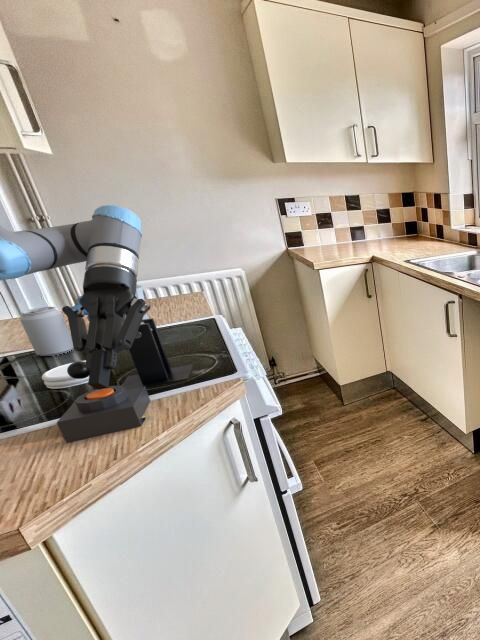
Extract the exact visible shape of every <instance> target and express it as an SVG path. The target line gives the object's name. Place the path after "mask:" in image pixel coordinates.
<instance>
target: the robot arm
mask: <svg viewBox="0 0 480 640" xmlns="http://www.w3.org/2000/svg"><path fill="white" fill-rule="evenodd" d="M142 237H143V233H142V221H141V218H140V217H139V216H138V215H137V214H136V213H135V212H134V211H132V210H130V209H128V208H127V207H123V206H120V205H114V204H113V205H112V204H105V205H101V206H98V207H97V208H96V209H94V210H93V214H92V215H91V219H90V220H85V221H80V222H77V223H69V224H62V225H56V226H50V227H49V226H48V227H42V228H41V227H40V228H33V229H27V230H18V231H17V230H16V231H12V230H9V229H6V228H4V227H3V226H1V225H0V281H6V280H14V279H19V278H21V277H24V276H27V275H31V274H35V273H38V272H44V271H48V270H52V269H57V268H61V267H66V266H71V265H75V264H79V263H85V268H84V275H83V282H82V292H83V293H82V295H81V296H82V297H81V298H80V300H79V303H78V302H77V304H75V305H73V306H69V305H65V306H63V307H62V308H61V312H62V313H63V314H64V315H66V317H67V321H68V326H69V327H68V328H69V331H70V333H71V337H72V342H73V347H74V349H73V350H76V351H77V352H79V353H80V354H83V355H85V356H86V357H85V360H86V364H85V367H86V369H87V370H89V371H90V374H89V381H88V382H87V385H88V386H91V387H92V388H94V389H95V390H96V389H98V390H99V389H105V388H109V386H110V379H111V370H115V369H116V367H117V361H118V354H119V353H120V352H121V351H124V350H125V351H129V349H130V348H131V346H132V344H133V341H134V339H135V336H136V334H137V331H138V329H139V326H140V324H141V321H142V319H143V316H144V315H145V314H147V313H148V312H149V310H150V309H151V305H150V304H149V303H148V302H147V301H146V300H145V299H144V300H145V301H144V300H143V299H137V297H136V296H135V294H136V285H138V284H137V283H138V279H137V278H138V271H139V259H140V256H139V254H140V248H141V242H142ZM84 310H86V311H87V312H88V313H89V314H88V315H87V316H88V317H89V319H90V321H88V322H89V323H88V330H87V325H86V321H85V319H84V317H85V316H86V315H84ZM128 310H129V311H128ZM127 311H128V314H127V316H126V318H125V313H126V312H127ZM124 318H125V321H124ZM123 322H124V323H123ZM122 323H123V326H122Z"/></svg>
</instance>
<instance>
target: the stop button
mask: <svg viewBox="0 0 480 640" xmlns="http://www.w3.org/2000/svg"><path fill="white" fill-rule="evenodd" d="M113 393H114V390H113V389H112V388H106V389H101V390H97V391H94V392H91V393H89V394H88V395H87V396H86V398H87V400H94V399H99V398H103V397H106V396H109V395H111V394H113Z"/></svg>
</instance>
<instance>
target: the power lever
mask: <svg viewBox="0 0 480 640" xmlns="http://www.w3.org/2000/svg"><path fill="white" fill-rule="evenodd" d="M141 324H145V323H144V322H141ZM151 330H152V329H151ZM83 361H84V360H78V361H73V362H74V363H73V362H71V363H72V364H70V365H69V366H68V368H67V373H68V375H69V376H71V377H72V378H75V379H83V378H86V377H88V376H89V374H90V371H89V370H87V369H86V367H85V364H86V362H83Z"/></svg>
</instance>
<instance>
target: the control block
mask: <svg viewBox="0 0 480 640" xmlns="http://www.w3.org/2000/svg"><path fill="white" fill-rule="evenodd" d="M109 388H112V389H113V390H114V393H113V394H111V395H109V396H106V397H103V398H99V399H94V400H87V398H86V396H87V395H88V394H89V393H91V392H94V391H97V390H98V389H96V388H95V389H93V390H89V391H87V392H85V393H82V394H80V395H79V396H77V397H76V399H74V402H73V403H72V404H71V405H70V406H69V407H68V409H67V410H66V411H65V412H64V413H63V414H62V415H61V417H59V419H58V420H57V421H56V424H57V426H58V428H59V430H60V433H61V434H62V437H63V439H64V441H65V443H66V444H71V443H75V442H79V441H84V440H89V439H93V438H96V437H102V436H105V435H110V434H114V433H118V432H122V431H123V432H124V431H128V430H132V429H136V428H142V426H143V424H144V423H145V421H146V416H145V417H143V416H144V414H145V413H146V411H147V409H148V407H149V405H150V403H151V398H150V395H149V392H148V390H147V388H146V387H139V388H134V389H129V390H126V389H125V388H124V387H123V386H122V385H109ZM105 389H106V388H105ZM99 390H101V389H99Z"/></svg>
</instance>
